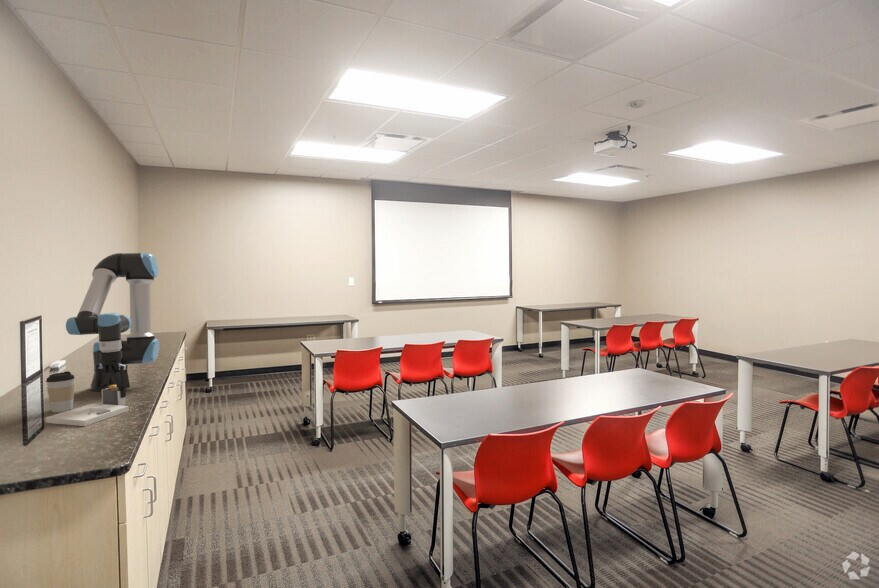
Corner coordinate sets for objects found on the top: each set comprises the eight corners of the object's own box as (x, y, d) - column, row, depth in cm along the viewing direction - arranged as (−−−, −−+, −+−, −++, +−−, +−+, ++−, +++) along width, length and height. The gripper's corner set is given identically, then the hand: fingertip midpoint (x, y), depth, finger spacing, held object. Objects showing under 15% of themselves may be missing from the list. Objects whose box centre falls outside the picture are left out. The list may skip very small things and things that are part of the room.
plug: (114, 403, 196) (113, 383, 195) (123, 404, 195) (122, 384, 194) (103, 406, 191) (102, 386, 190) (113, 407, 190) (112, 387, 189)
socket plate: (92, 408, 189) (92, 401, 189) (128, 410, 185) (128, 404, 185) (46, 422, 171) (45, 415, 171) (85, 426, 167) (84, 419, 167)
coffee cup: (60, 413, 182) (58, 376, 181) (41, 412, 184) (39, 375, 183) (82, 406, 191) (80, 371, 190) (64, 405, 193) (62, 370, 192)
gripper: (82, 351, 190) (85, 405, 191) (122, 353, 185) (125, 408, 187) (99, 348, 197) (102, 400, 199) (138, 349, 193) (141, 403, 194)
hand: (113, 404), depth 193 cm, fingers open, 7 cm apart
